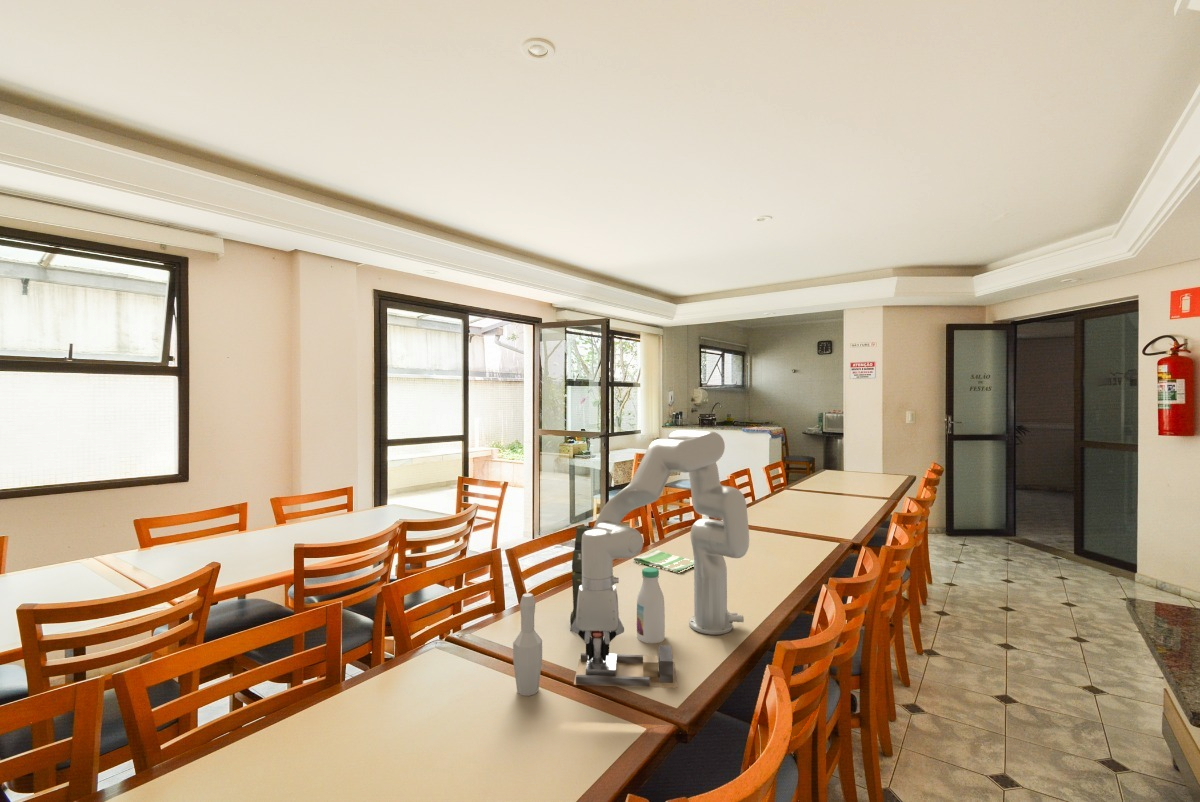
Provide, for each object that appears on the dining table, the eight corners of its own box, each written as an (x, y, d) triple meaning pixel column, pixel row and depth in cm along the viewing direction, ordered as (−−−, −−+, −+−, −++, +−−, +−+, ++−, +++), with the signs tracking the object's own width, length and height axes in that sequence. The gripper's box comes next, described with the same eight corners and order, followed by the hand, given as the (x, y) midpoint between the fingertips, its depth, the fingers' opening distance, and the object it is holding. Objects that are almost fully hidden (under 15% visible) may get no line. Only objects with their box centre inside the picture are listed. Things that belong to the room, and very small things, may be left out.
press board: (674, 666, 132) (674, 642, 132) (678, 693, 120) (677, 665, 120) (579, 663, 134) (579, 639, 134) (573, 689, 122) (573, 662, 122)
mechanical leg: (587, 635, 149) (592, 525, 156) (562, 632, 150) (569, 524, 157) (597, 627, 162) (601, 526, 169) (574, 625, 163) (579, 525, 170)
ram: (616, 663, 131) (616, 624, 131) (615, 680, 123) (615, 638, 123) (588, 662, 132) (588, 623, 132) (585, 679, 124) (585, 637, 124)
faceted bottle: (529, 701, 117) (529, 602, 118) (508, 692, 121) (507, 596, 121) (547, 687, 123) (547, 593, 123) (526, 680, 126) (525, 588, 126)
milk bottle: (667, 637, 149) (667, 566, 149) (661, 649, 142) (661, 575, 142) (640, 633, 152) (640, 564, 152) (633, 645, 144) (633, 572, 144)
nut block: (657, 670, 128) (657, 655, 128) (658, 677, 125) (658, 662, 125) (643, 669, 129) (643, 655, 129) (643, 677, 125) (643, 662, 125)
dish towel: (679, 575, 204) (679, 568, 204) (632, 563, 220) (632, 557, 220) (703, 565, 217) (703, 558, 217) (657, 554, 233) (657, 548, 233)
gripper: (631, 577, 131) (631, 651, 131) (566, 576, 132) (566, 649, 132) (630, 588, 124) (631, 666, 123) (561, 586, 125) (562, 664, 125)
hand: (597, 657), depth 128 cm, fingers closed on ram, 2 cm apart
